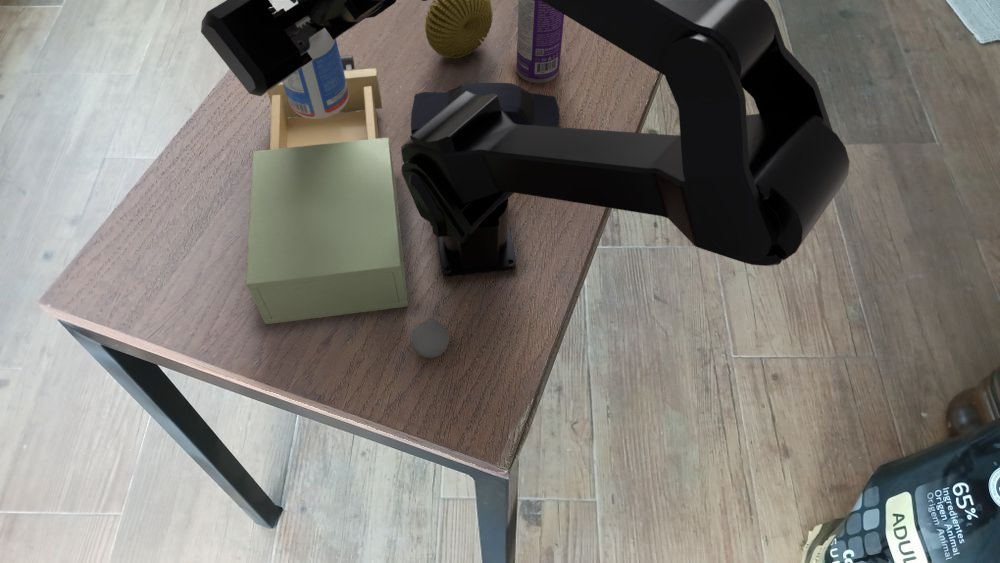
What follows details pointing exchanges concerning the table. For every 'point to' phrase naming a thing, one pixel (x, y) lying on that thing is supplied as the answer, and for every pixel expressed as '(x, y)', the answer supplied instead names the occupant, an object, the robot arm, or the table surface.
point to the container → (538, 41)
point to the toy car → (511, 98)
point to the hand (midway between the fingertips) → (292, 33)
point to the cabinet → (325, 231)
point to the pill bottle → (316, 76)
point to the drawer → (336, 126)
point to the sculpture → (458, 26)
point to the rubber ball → (430, 339)
